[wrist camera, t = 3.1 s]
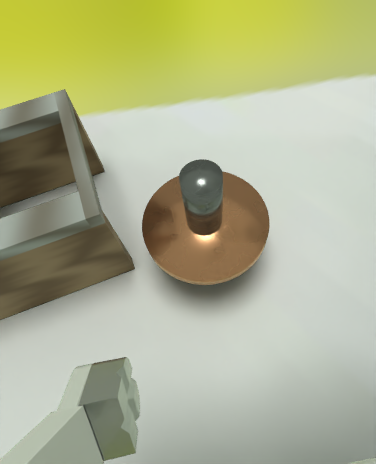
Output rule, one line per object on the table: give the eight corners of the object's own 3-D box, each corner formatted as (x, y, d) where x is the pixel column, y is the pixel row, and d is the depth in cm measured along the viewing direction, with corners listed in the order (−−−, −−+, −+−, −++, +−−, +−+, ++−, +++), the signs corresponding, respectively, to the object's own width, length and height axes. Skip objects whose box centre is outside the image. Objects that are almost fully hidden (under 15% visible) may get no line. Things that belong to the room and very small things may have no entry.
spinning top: (233, 194, 33) (239, 103, 23) (280, 278, 28) (313, 210, 18) (142, 227, 32) (107, 148, 22) (175, 320, 28) (149, 273, 17)
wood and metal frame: (102, 163, 37) (64, 89, 28) (134, 268, 30) (99, 214, 21) (-55, 217, 35) (-146, 156, 26) (-56, 341, 29) (-179, 313, 20)
